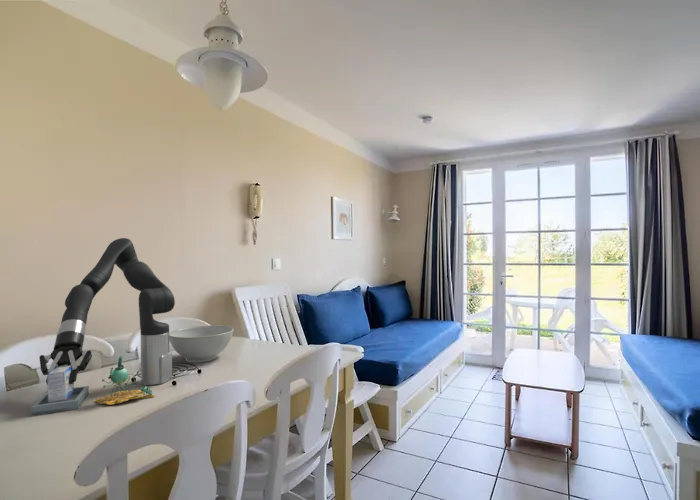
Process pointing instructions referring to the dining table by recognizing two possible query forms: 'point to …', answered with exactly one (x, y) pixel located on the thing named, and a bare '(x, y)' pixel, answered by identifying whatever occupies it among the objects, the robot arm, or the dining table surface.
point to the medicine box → (60, 384)
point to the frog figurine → (118, 378)
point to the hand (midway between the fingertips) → (60, 384)
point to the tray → (60, 402)
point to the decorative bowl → (201, 341)
